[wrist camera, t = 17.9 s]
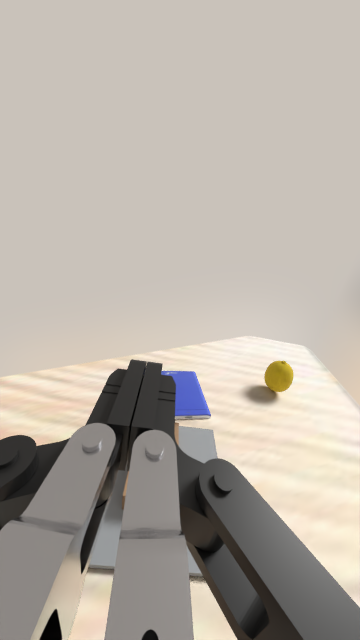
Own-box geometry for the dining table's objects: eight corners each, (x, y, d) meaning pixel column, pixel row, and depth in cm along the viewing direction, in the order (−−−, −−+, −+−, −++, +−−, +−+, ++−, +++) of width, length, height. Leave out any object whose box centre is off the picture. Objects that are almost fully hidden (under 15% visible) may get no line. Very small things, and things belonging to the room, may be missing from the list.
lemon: (274, 382, 51) (285, 354, 48) (291, 398, 46) (304, 368, 43) (255, 383, 49) (265, 354, 46) (271, 401, 44) (283, 369, 41)
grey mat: (42, 563, 19) (42, 560, 19) (103, 419, 34) (103, 417, 34) (235, 579, 20) (236, 576, 20) (212, 432, 35) (212, 430, 34)
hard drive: (160, 370, 47) (166, 415, 35) (195, 371, 48) (211, 414, 37) (159, 376, 47) (165, 422, 36) (194, 376, 49) (209, 420, 38)
